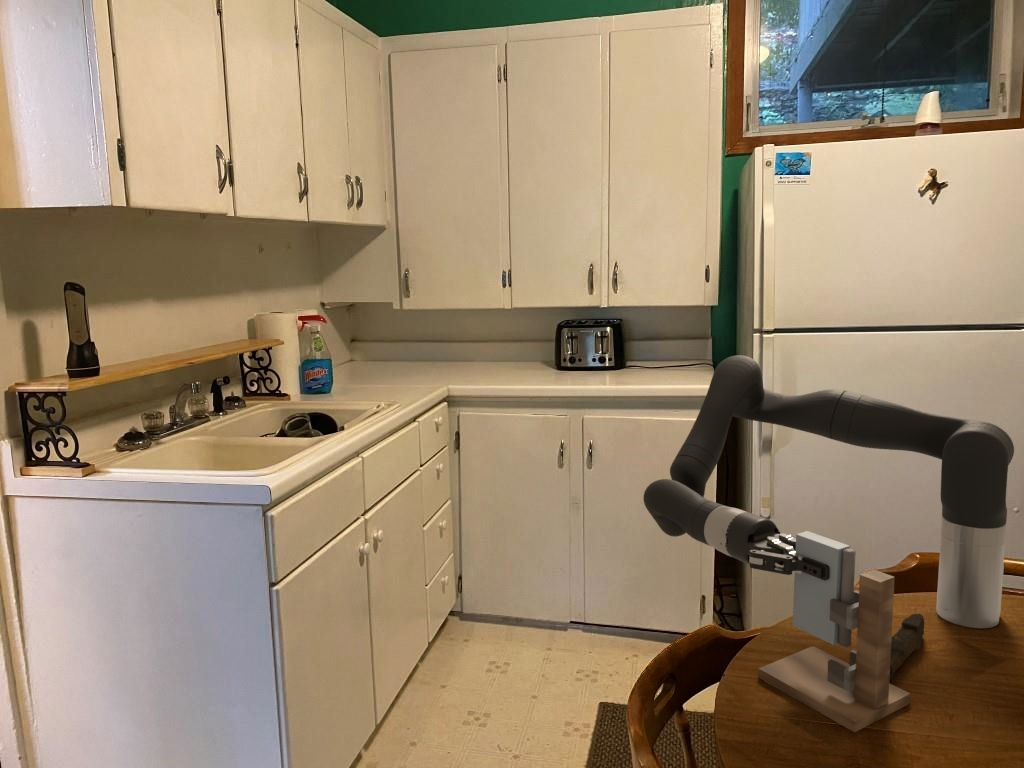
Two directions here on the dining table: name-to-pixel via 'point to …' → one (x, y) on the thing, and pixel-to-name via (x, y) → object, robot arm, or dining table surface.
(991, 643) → the dining table surface
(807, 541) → the cabinet door
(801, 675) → the hinge frame
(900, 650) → the hand tool
